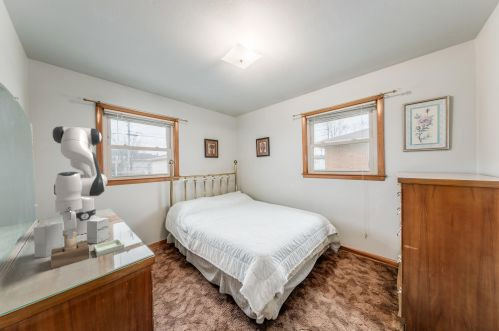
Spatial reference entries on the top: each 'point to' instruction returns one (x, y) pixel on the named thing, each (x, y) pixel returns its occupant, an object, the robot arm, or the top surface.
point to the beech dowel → (70, 242)
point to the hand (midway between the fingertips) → (70, 236)
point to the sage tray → (108, 247)
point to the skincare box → (48, 238)
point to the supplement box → (97, 230)
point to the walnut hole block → (69, 255)
